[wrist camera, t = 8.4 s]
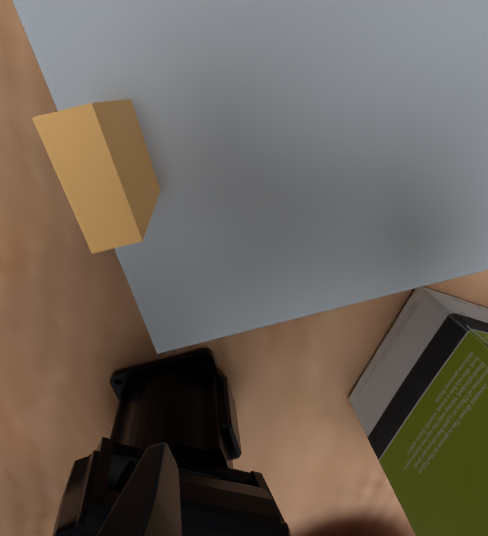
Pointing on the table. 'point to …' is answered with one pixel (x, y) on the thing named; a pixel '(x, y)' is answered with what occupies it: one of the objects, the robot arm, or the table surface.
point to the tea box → (432, 413)
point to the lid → (268, 149)
